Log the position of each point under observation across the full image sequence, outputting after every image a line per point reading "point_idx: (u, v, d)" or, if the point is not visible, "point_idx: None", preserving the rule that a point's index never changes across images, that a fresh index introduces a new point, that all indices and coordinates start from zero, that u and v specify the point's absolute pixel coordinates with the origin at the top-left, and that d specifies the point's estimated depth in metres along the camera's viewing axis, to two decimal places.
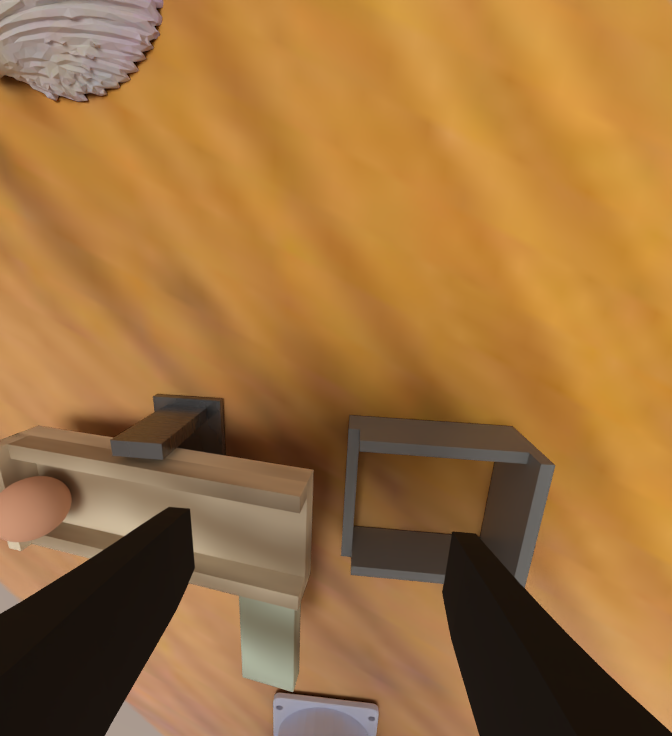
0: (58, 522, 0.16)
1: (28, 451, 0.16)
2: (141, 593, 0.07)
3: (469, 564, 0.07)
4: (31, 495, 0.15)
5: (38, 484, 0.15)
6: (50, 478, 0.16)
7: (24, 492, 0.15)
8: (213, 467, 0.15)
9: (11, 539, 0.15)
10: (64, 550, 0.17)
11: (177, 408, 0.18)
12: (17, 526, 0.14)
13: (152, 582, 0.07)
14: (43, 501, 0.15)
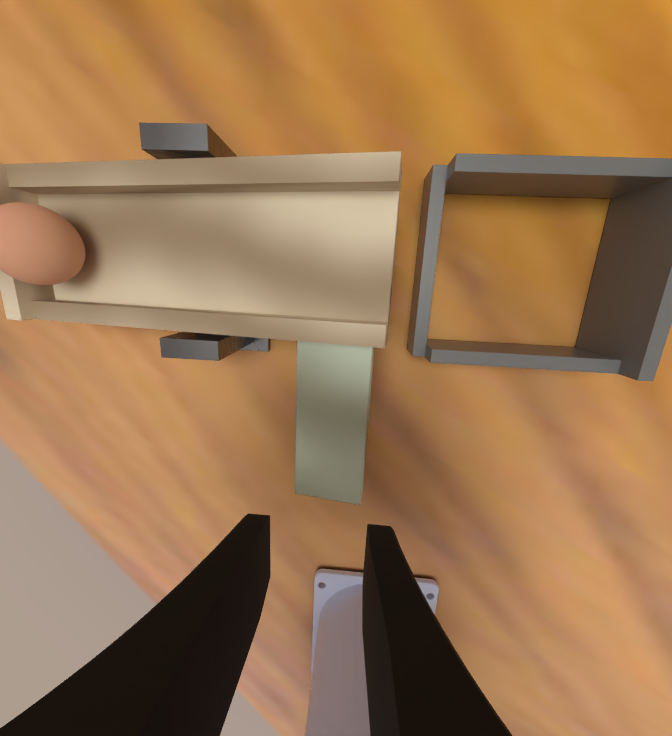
0: (69, 263, 0.12)
1: (31, 169, 0.12)
2: (240, 603, 0.07)
3: (370, 555, 0.07)
4: (35, 211, 0.12)
5: (44, 208, 0.12)
6: None
7: (26, 205, 0.11)
8: None
9: (9, 259, 0.11)
10: (76, 320, 0.13)
11: None
12: (17, 237, 0.11)
13: (247, 592, 0.07)
14: (51, 222, 0.12)
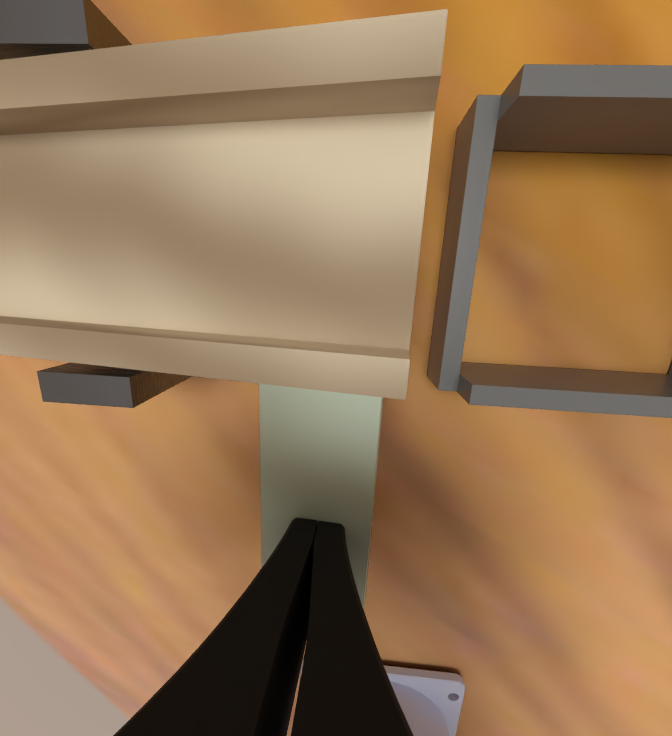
0: None
1: None
2: (300, 609, 0.07)
3: (313, 549, 0.07)
4: None
5: None
6: None
7: None
8: None
9: None
10: None
11: None
12: None
13: (304, 597, 0.07)
14: None
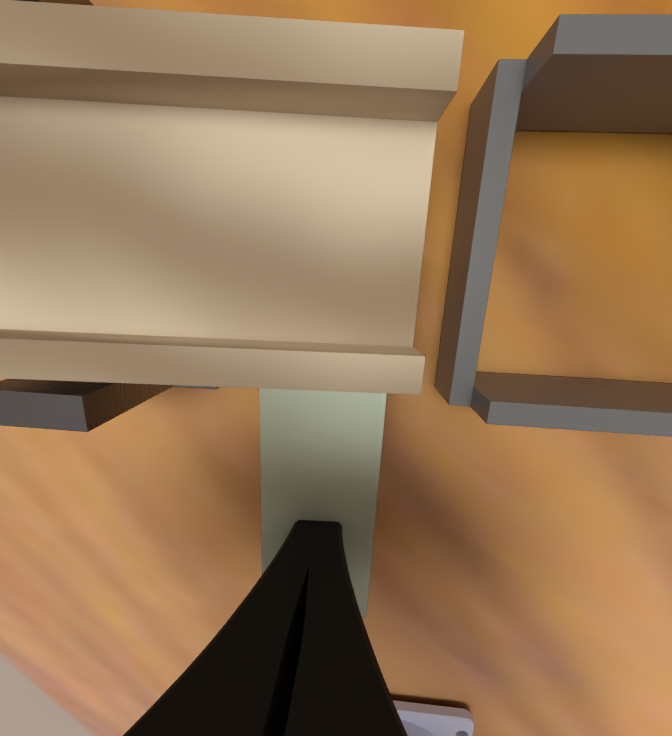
0: None
1: None
2: None
3: None
4: None
5: None
6: None
7: None
8: None
9: None
10: None
11: None
12: None
13: None
14: None
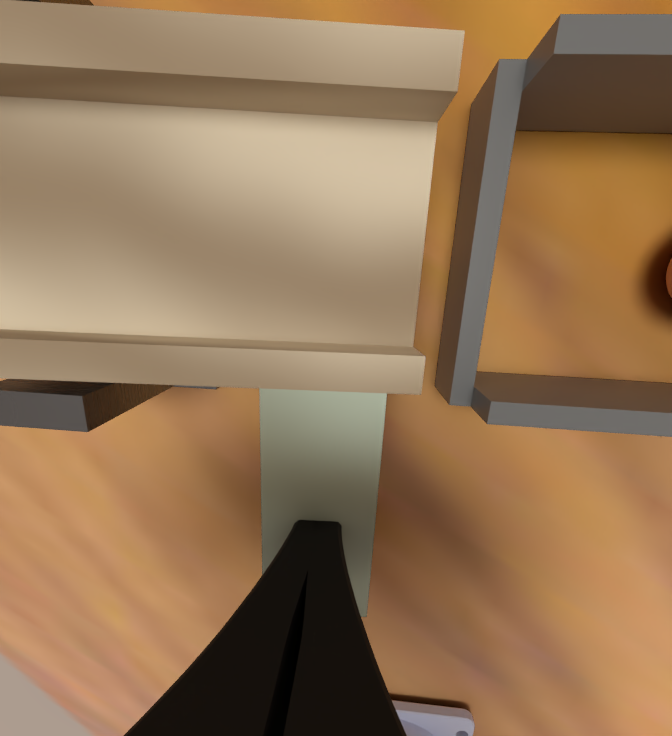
0: (669, 289, 0.09)
1: None
2: None
3: None
4: None
5: None
6: None
7: None
8: None
9: None
10: None
11: None
12: None
13: None
14: None
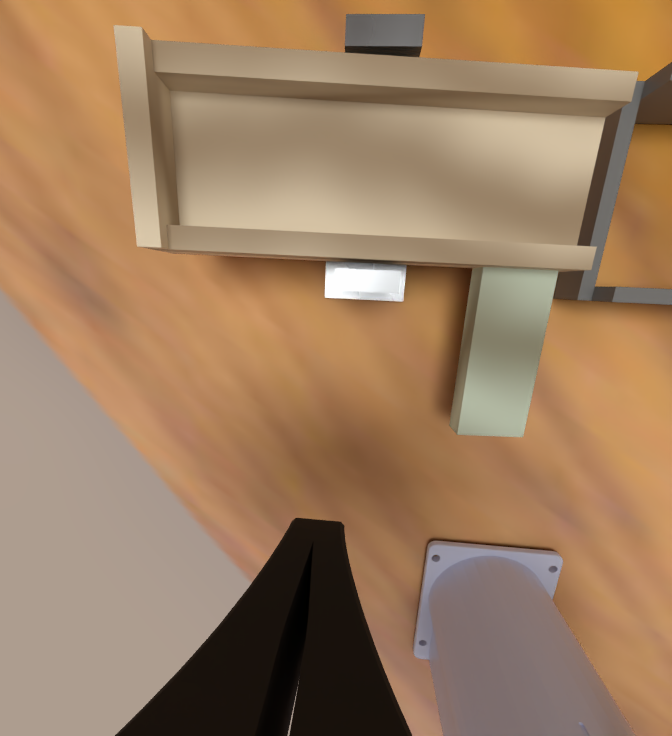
0: None
1: (193, 51, 0.10)
2: (301, 609, 0.07)
3: (313, 549, 0.07)
4: None
5: None
6: None
7: None
8: None
9: None
10: (232, 248, 0.11)
11: None
12: None
13: (305, 597, 0.07)
14: None
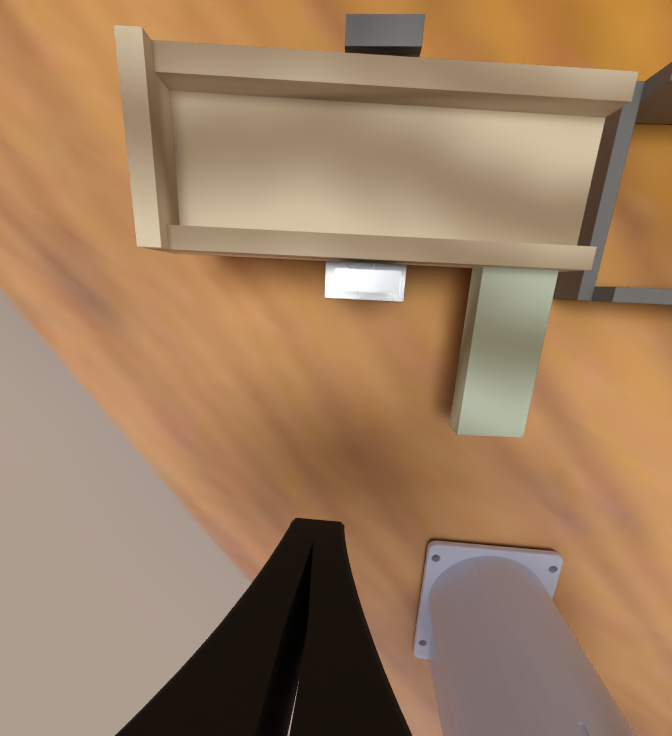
0: None
1: (193, 51, 0.10)
2: (301, 609, 0.07)
3: (313, 549, 0.07)
4: None
5: None
6: None
7: None
8: None
9: None
10: (232, 248, 0.11)
11: None
12: None
13: (305, 597, 0.07)
14: None
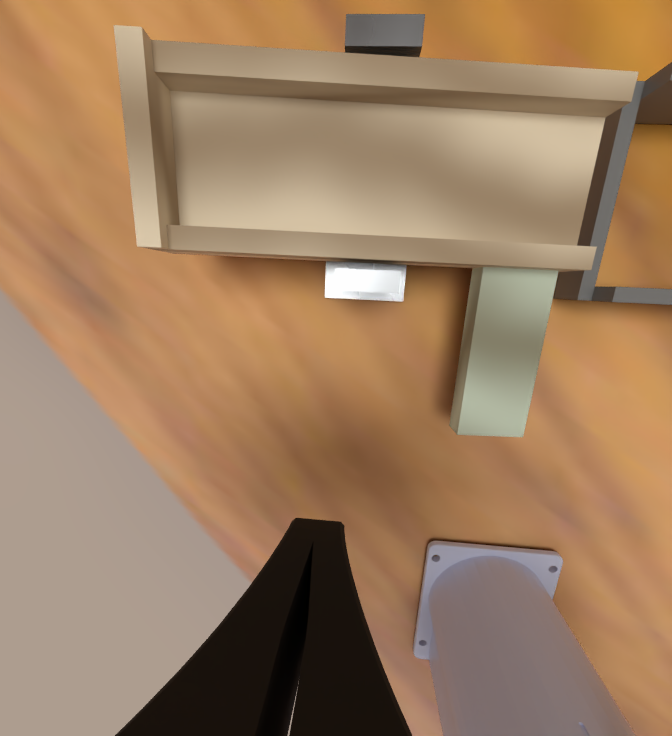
0: None
1: (193, 51, 0.10)
2: (301, 609, 0.07)
3: (313, 549, 0.07)
4: None
5: None
6: None
7: None
8: None
9: None
10: (232, 248, 0.11)
11: None
12: None
13: (305, 597, 0.07)
14: None
